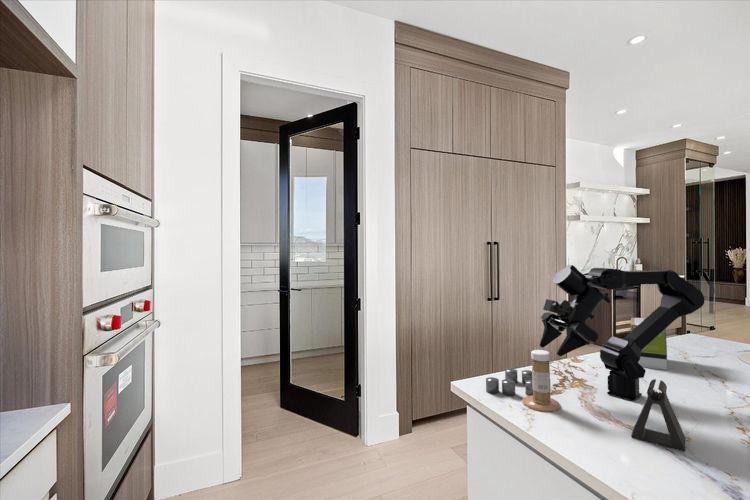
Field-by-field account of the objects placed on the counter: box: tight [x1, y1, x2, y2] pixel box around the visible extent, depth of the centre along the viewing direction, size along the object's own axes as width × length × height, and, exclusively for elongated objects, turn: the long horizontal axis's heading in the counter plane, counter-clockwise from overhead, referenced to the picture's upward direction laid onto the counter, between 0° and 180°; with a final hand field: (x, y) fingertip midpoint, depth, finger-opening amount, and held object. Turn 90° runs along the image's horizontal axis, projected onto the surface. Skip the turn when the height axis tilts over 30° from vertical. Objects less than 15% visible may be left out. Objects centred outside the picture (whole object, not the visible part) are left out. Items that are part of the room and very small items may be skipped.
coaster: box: [522, 395, 561, 413], centre depth 97 cm, size 9×9×1 cm
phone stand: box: [630, 379, 687, 452], centre depth 79 cm, size 9×6×12 cm, turn 48°
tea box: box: [629, 317, 668, 371], centre depth 130 cm, size 15×10×15 cm, turn 144°
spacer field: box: [485, 368, 533, 397], centre depth 108 cm, size 13×17×4 cm
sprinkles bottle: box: [530, 349, 551, 405], centre depth 97 cm, size 5×5×13 cm
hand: (549, 350), depth 100 cm, fingers open, 9 cm apart
